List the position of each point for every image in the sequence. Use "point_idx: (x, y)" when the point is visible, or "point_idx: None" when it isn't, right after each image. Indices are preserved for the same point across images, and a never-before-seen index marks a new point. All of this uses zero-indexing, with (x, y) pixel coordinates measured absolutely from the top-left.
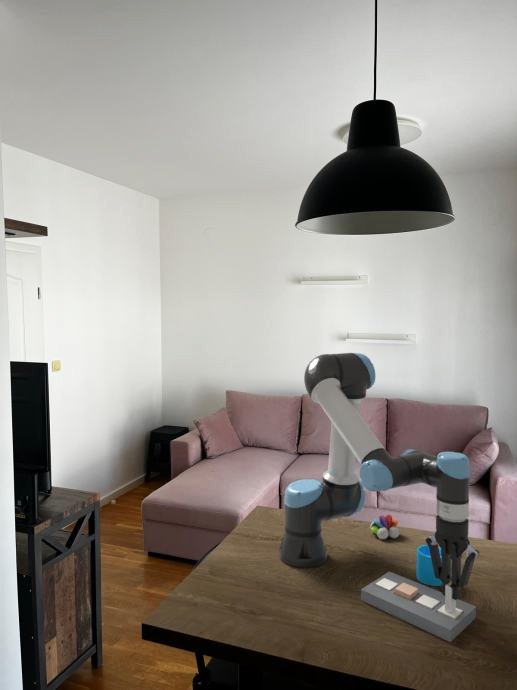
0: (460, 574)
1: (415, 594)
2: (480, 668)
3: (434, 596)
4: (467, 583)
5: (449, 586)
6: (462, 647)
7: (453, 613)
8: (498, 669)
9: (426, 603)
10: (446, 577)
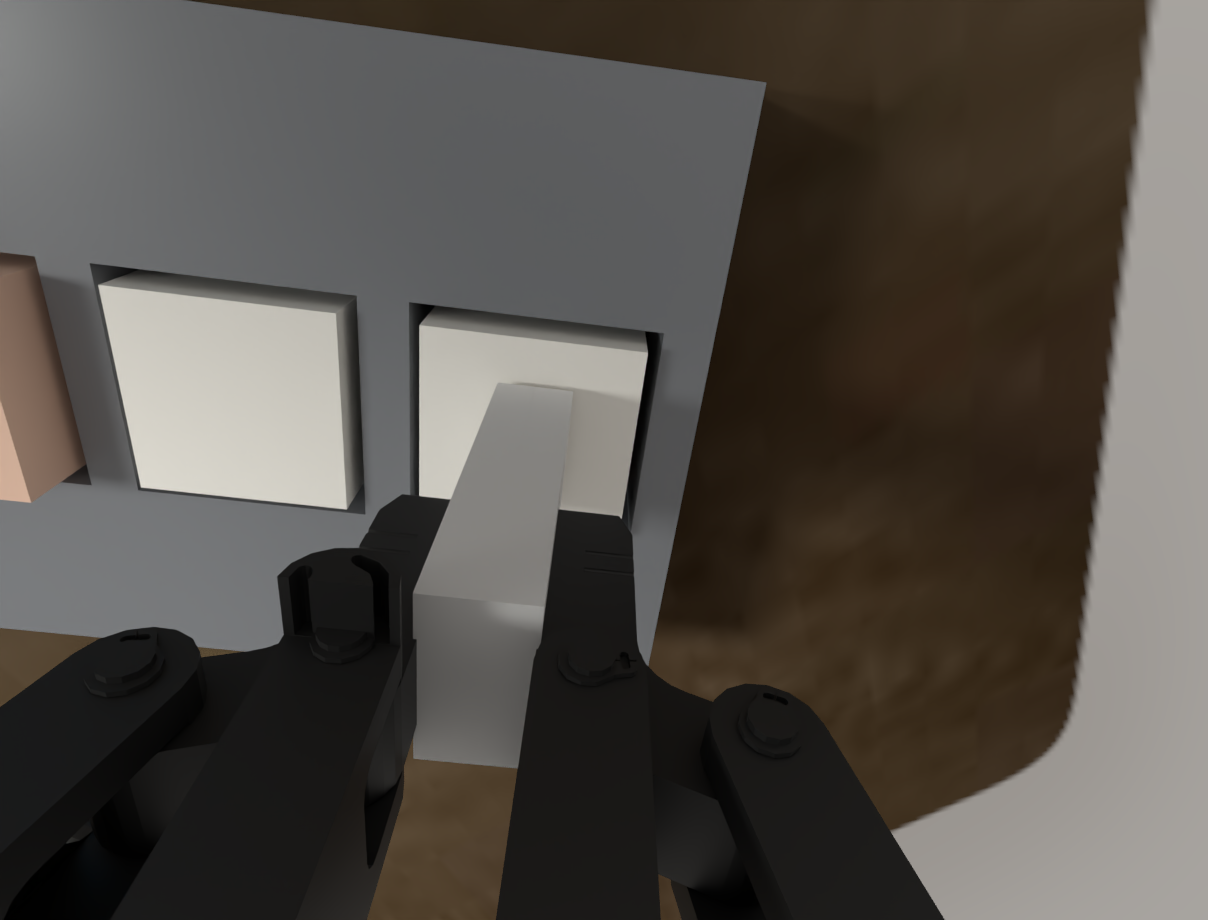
0: (654, 871)
1: (31, 347)
2: (883, 730)
3: (209, 204)
4: (819, 732)
5: (490, 759)
6: (733, 614)
7: (581, 476)
8: (995, 683)
9: (255, 458)
10: (372, 876)
